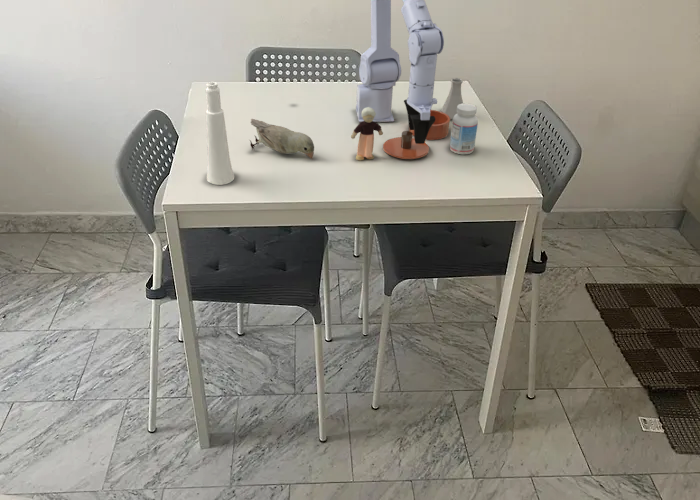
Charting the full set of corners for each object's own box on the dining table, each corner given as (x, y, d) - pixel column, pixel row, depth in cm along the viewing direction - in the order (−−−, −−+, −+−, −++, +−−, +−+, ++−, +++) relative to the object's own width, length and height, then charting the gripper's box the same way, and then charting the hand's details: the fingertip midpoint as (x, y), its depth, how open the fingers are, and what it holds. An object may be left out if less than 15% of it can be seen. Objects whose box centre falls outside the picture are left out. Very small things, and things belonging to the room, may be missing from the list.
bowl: (412, 140, 168) (414, 125, 166) (405, 123, 176) (407, 109, 174) (452, 139, 169) (454, 125, 167) (443, 123, 177) (445, 109, 175)
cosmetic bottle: (237, 182, 147) (229, 87, 135) (209, 186, 145) (199, 90, 133) (231, 170, 152) (223, 77, 139) (204, 174, 150) (194, 79, 137)
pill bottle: (475, 146, 166) (482, 104, 160) (471, 157, 161) (477, 113, 155) (451, 142, 168) (457, 100, 161) (446, 152, 163) (452, 109, 156)
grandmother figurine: (356, 163, 157) (358, 113, 149) (348, 156, 159) (350, 106, 152) (384, 157, 160) (387, 107, 152) (376, 151, 162) (379, 101, 155)
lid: (386, 161, 158) (387, 143, 155) (379, 141, 167) (380, 123, 164) (432, 160, 159) (434, 142, 156) (423, 140, 168) (425, 123, 165)
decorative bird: (309, 163, 156) (309, 134, 152) (247, 152, 160) (245, 123, 155) (317, 154, 160) (317, 125, 156) (256, 143, 164) (255, 114, 160)
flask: (467, 121, 179) (472, 85, 173) (440, 120, 179) (444, 84, 173) (464, 110, 185) (468, 75, 179) (438, 109, 185) (441, 74, 179)
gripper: (445, 93, 148) (439, 149, 155) (432, 70, 160) (427, 123, 167) (414, 93, 147) (409, 149, 155) (403, 70, 159) (399, 123, 167)
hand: (416, 136), depth 161 cm, fingers open, 7 cm apart
